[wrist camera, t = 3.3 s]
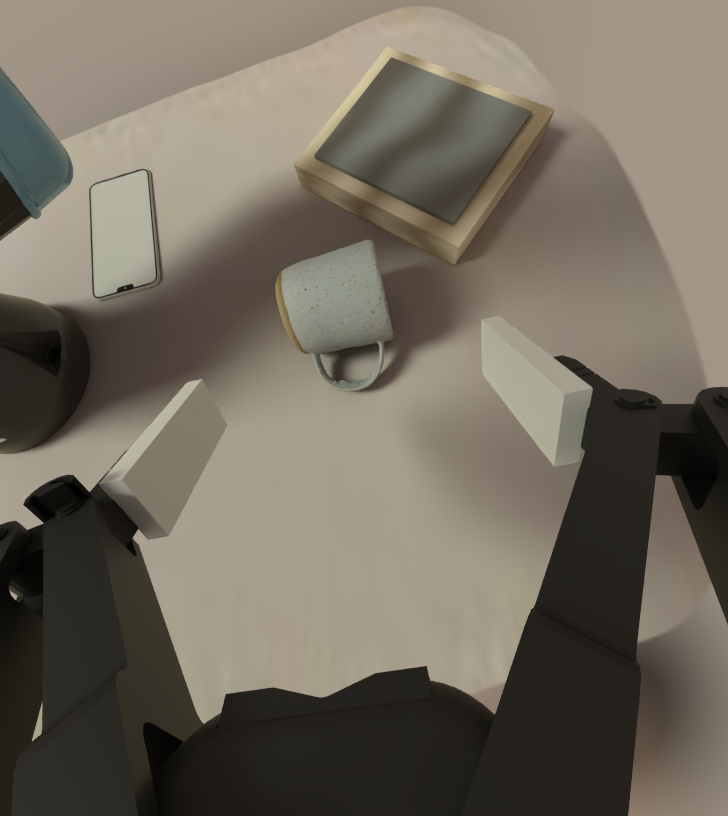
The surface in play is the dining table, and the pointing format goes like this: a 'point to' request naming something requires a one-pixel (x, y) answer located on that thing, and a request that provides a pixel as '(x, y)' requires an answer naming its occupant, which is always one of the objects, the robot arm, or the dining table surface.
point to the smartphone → (123, 235)
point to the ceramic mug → (336, 306)
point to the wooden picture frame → (423, 152)
